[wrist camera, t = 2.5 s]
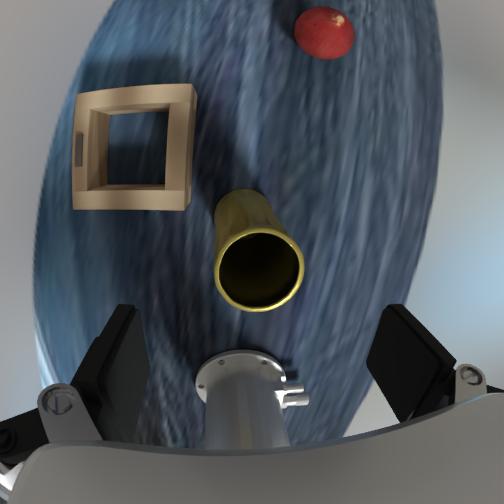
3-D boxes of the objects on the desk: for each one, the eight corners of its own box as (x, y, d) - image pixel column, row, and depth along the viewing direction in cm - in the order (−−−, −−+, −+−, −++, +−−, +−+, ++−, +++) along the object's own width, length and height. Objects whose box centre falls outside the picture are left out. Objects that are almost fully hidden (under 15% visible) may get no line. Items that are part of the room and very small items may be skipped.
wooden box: (197, 95, 25) (191, 82, 20) (190, 201, 28) (183, 211, 23) (98, 101, 23) (75, 93, 18) (94, 200, 27) (71, 210, 22)
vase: (214, 246, 30) (208, 320, 17) (213, 188, 28) (203, 219, 15) (271, 245, 31) (307, 316, 17) (273, 188, 29) (316, 219, 15)
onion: (290, 18, 22) (310, -17, 15) (339, 32, 23) (371, 4, 15) (284, 60, 24) (304, 31, 16) (335, 73, 25) (369, 52, 17)
